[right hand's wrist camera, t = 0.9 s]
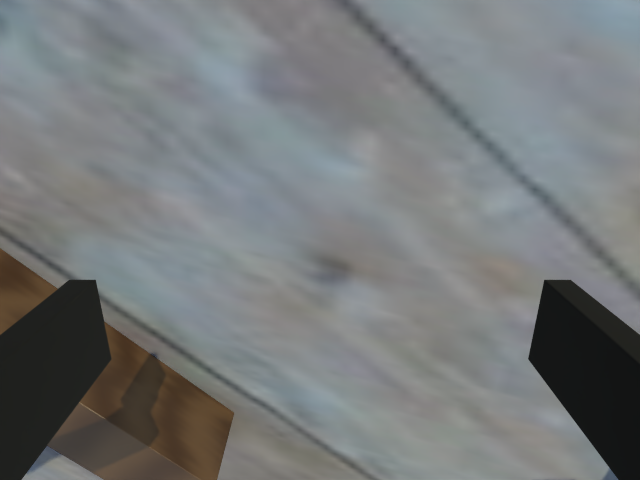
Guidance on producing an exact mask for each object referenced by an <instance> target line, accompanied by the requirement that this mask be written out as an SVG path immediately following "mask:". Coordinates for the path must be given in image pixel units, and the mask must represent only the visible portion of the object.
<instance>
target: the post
mask: <svg viewBox="0 0 640 480" xmlns="http://www.w3.org/2000/svg"><path fill="white" fill-rule="evenodd" d="M56 290H57V288H56V287H54V286H53V285H51V284H50V283H48V282H47V281H46V280H44V279H43V278H41V277H40V276H38V275H37V274H36V273H34V272H33V271H31V270H30V269H29V268H27V267H26V266H24V265H23V264H21V263H20V262H19V261H17V260H16V259H14V258H13V257H11V256H10V255H9V254H7V253H6V252H4V251H3V250H2V249H0V335H1V334H2V333H3V332H5V331H6V330H7V329H8V328H10V327H11V326H12V325H13V324H15V323H16V322H17V321H18V320H20V319H21V318H22V317H23V316H25V315H26V314H27V313H28V312H30V311H31V310H32V309H33V308H35V307H36V306H37V305H39V304H40V303H41V302H42V301H44V300H45V299H46V298H47V297H49V296H50V295H51V294H52V293H54V292H55V291H56ZM104 324H105V329H106V334H107V339H108V343H109V348H110V353H111V358H112V359H111V361H110V362H109V363H108V365H107V366H106V367H105V369H104V370H103V371H102V373H101V374H100V375H99V377H98V378H97V379H96V381H95V382H94V383H93V385H92V386H91V387H90V389H89V390H88V391H87V393H86V394H85V395H84V397H83V398H82V399H81V401H80V402H79V403H78V405H77V406H76V407H75V409H74V410H73V411H72V413H71V414H70V415H69V417H68V418H67V419H66V421H65V422H64V423H63V425H62V426H61V427H60V429H59V430H58V431H57V433H56V434H55V435H54V437H53V438H52V439H51V441H50V442H49V443H48V445H47V446H49V447H50V448H52V449H54V450H55V451H57V452H59V453H60V454H62V455H64V456H65V457H67V458H69V459H70V460H72V461H74V462H75V463H77V464H79V465H80V466H82V467H84V468H85V469H87V470H89V471H90V472H92V473H94V474H95V475H97V476H99V477H100V478H102V479H104V480H217V477H218V474H219V470H220V466H221V462H222V458H223V454H224V450H225V446H226V442H227V439H228V435H229V431H230V427H231V423H232V419H233V415H234V413H233V412H232V411H230V410H229V409H228V408H226V407H225V406H223V405H222V404H220V403H219V402H218V401H216V400H215V399H213V398H212V397H211V396H209V395H208V394H206V393H205V392H203V391H202V390H201V389H199V388H198V387H196V386H195V385H193V384H192V383H191V382H189V381H188V380H186V379H185V378H184V377H182V376H181V375H179V374H178V373H176V372H175V371H174V370H172V369H171V368H169V367H168V366H166V365H165V364H164V363H162V362H161V361H159V360H158V359H156V358H155V357H154V356H152V355H151V354H149V353H148V352H147V351H145V350H144V349H142V348H141V347H139V346H138V345H137V344H135V343H134V342H132V341H131V340H129V339H128V338H127V337H125V336H124V335H122V334H121V333H120V332H118V331H117V330H115V329H114V328H112V327H111V326H110V325H108V324H107V323H105V322H104Z"/></svg>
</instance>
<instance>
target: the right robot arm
mask: <svg viewBox="0 0 640 480" xmlns="http://www.w3.org/2000/svg"><path fill="white" fill-rule="evenodd" d="M111 359H112V358H111V353H110V348H109V343H108V339H107V334H106V329H105V324H104V319H103V314H102V309H101V304H100V299H99V294H98V289H97V284H96V280H69V281H68V282H66V283H65V284H64V285H62V286H61V287H60V288H59V289H57V290H56V291H55V292H54V293H52V294H51V295H50V296H49V297H47V298H46V299H45V300H44V301H42V302H41V303H40V304H39V305H37V306H36V307H35V308H33V309H32V310H31V311H30V312H28V313H27V314H26V315H25V316H23V317H22V318H21V319H20V320H18V321H17V322H16V323H15V324H13V325H12V326H11V327H10V328H8V329H7V330H6V331H5V332H3V333H2V334H1V335H0V480H22V478H23V477H24V476H25V474H26V473H27V471H28V470H29V469H30V467H31V466H32V465H33V463H34V462H35V461H36V459H37V458H38V457H39V455H40V454H41V453H42V451H43V450H44V449H45V447H46V446H47V445H48V443H49V442H50V441H51V439H52V438H53V437H54V435H55V434H56V433H57V431H58V430H59V429H60V427H61V426H62V425H63V423H64V422H65V421H66V419H67V418H68V417H69V415H70V414H71V413H72V411H73V410H74V409H75V407H76V406H77V405H78V403H79V402H80V401H81V399H82V398H83V397H84V395H85V394H86V393H87V391H88V390H89V389H90V387H91V386H92V385H93V383H94V382H95V381H96V379H97V378H98V377H99V375H100V374H101V373H102V371H103V370H104V369H105V367H106V366H107V365H108V363H109V362H110V361H111ZM528 359H529V361H530V362H531V363H532V365H533V366H534V367H535V369H536V370H537V371H538V373H539V374H540V375H541V377H542V378H543V379H544V381H545V382H546V383H547V385H548V386H549V387H550V389H551V390H552V391H553V393H554V394H555V395H556V397H557V398H558V399H559V401H560V402H561V403H562V405H563V406H564V407H565V409H566V410H567V411H568V413H569V414H570V415H571V417H572V418H573V419H574V421H575V422H576V423H577V425H578V426H579V427H580V429H581V430H582V431H583V433H584V434H585V435H586V437H587V438H588V439H589V441H590V442H591V443H592V445H593V446H594V447H595V449H596V450H597V451H598V453H599V454H600V455H601V457H602V458H603V459H604V461H605V462H606V463H607V465H608V466H609V467H610V469H611V470H612V471H613V473H614V474H615V476H616V477H617V478H618V480H640V335H639V334H638V333H637V332H635V331H634V330H633V329H632V328H630V327H629V326H628V325H627V324H625V323H624V322H623V321H622V320H620V319H619V318H618V317H617V316H615V315H614V314H613V313H612V312H610V311H609V310H608V309H607V308H605V307H604V306H603V305H601V304H600V303H599V302H598V301H596V300H595V299H594V298H593V297H591V296H590V295H589V294H588V293H586V292H585V291H584V290H583V289H581V288H580V287H579V286H578V285H576V284H575V283H574V282H572V281H571V280H544V284H543V289H542V294H541V299H540V304H539V309H538V314H537V319H536V324H535V329H534V334H533V339H532V343H531V348H530V353H529V358H528Z"/></svg>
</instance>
